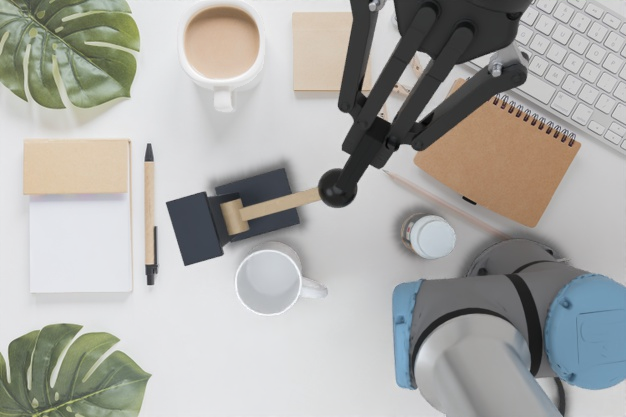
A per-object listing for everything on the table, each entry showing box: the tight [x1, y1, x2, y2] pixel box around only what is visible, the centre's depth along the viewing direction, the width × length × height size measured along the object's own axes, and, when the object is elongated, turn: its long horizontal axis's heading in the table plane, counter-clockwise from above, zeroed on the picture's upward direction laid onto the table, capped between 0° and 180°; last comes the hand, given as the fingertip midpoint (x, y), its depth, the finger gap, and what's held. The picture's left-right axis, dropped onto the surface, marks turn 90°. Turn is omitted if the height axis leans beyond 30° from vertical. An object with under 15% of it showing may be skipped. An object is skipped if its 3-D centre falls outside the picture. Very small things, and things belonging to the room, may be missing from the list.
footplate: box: [214, 167, 301, 244], centre depth 76 cm, size 10×8×1 cm
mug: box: [234, 240, 329, 317], centre depth 72 cm, size 12×8×10 cm
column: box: [165, 190, 240, 267], centre depth 62 cm, size 4×6×27 cm, turn 16°
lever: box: [220, 167, 359, 235], centre depth 50 cm, size 13×4×4 cm, turn 106°
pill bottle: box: [400, 212, 457, 260], centre depth 72 cm, size 6×6×10 cm
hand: (347, 179), depth 47 cm, fingers closed
